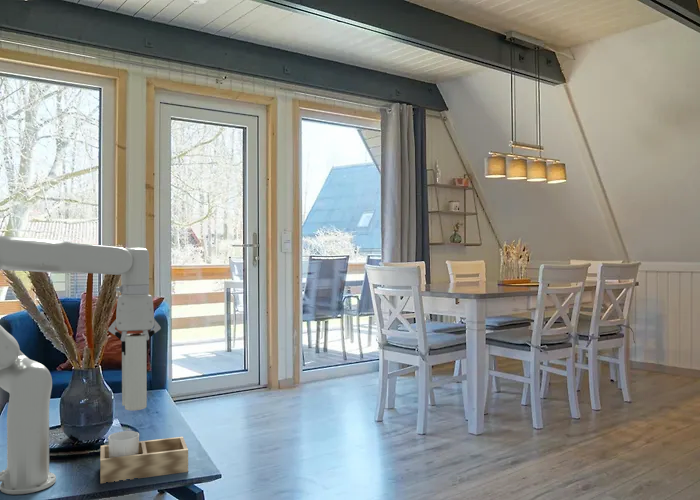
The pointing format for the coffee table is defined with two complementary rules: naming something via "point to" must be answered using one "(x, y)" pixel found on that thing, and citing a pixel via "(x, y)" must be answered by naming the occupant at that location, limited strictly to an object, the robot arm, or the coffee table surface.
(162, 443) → the wooden caddy
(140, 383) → the paper towel roll
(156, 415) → the coffee table surface
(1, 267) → the robot arm
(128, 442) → the white cup
